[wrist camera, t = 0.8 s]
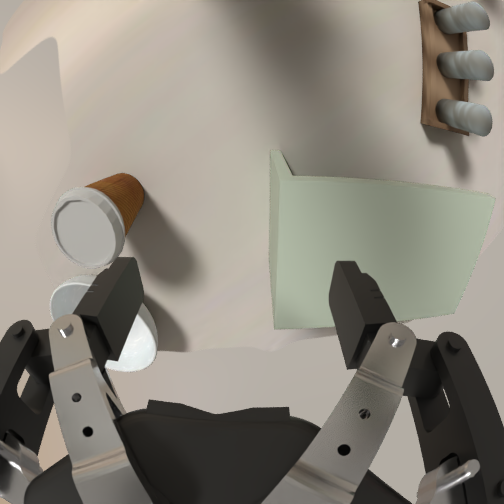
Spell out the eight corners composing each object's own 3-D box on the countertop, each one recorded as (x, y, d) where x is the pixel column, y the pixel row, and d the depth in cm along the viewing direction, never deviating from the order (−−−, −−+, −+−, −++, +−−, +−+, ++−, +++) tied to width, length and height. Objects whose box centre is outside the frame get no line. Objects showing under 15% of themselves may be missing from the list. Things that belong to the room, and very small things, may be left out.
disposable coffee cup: (151, 159, 34) (110, 188, 23) (158, 225, 39) (127, 274, 28) (91, 164, 34) (39, 194, 23) (101, 225, 38) (61, 270, 28)
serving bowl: (139, 250, 41) (123, 277, 35) (181, 344, 51) (174, 373, 45) (49, 266, 43) (30, 289, 37) (96, 345, 53) (85, 369, 47)
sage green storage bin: (270, 150, 33) (279, 180, 22) (435, 163, 33) (495, 198, 21) (268, 261, 41) (274, 329, 30) (414, 259, 41) (454, 313, 29)
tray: (418, 1, 21) (455, -13, 13) (455, 17, 21) (495, 10, 13) (420, 123, 30) (461, 135, 22) (456, 132, 30) (497, 146, 22)
